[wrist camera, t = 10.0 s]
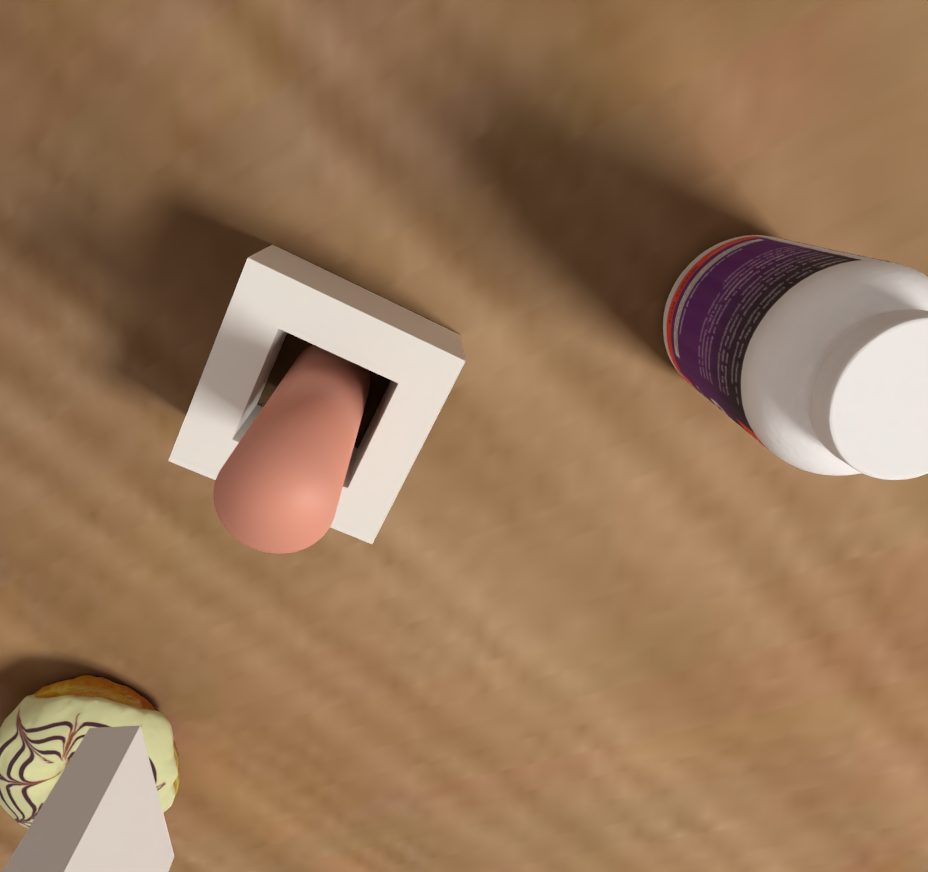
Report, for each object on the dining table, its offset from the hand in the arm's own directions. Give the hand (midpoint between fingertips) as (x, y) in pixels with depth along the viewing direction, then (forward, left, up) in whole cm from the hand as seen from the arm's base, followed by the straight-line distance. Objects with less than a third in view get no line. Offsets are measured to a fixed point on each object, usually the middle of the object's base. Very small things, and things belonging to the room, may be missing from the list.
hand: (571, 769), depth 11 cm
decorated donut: (+32, -10, -28) cm, 43 cm away
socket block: (+5, -6, -27) cm, 28 cm away
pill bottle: (-7, +11, -27) cm, 30 cm away
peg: (+5, -6, -27) cm, 28 cm away
